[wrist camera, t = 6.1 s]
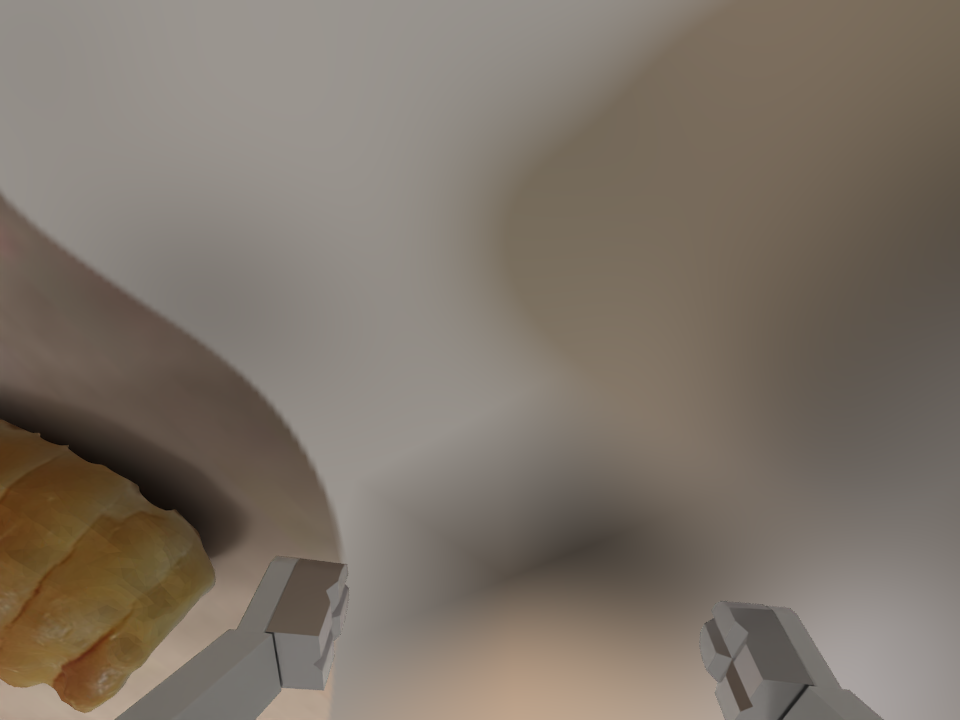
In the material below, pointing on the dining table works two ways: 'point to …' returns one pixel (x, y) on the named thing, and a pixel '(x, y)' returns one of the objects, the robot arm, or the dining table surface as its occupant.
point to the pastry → (86, 571)
